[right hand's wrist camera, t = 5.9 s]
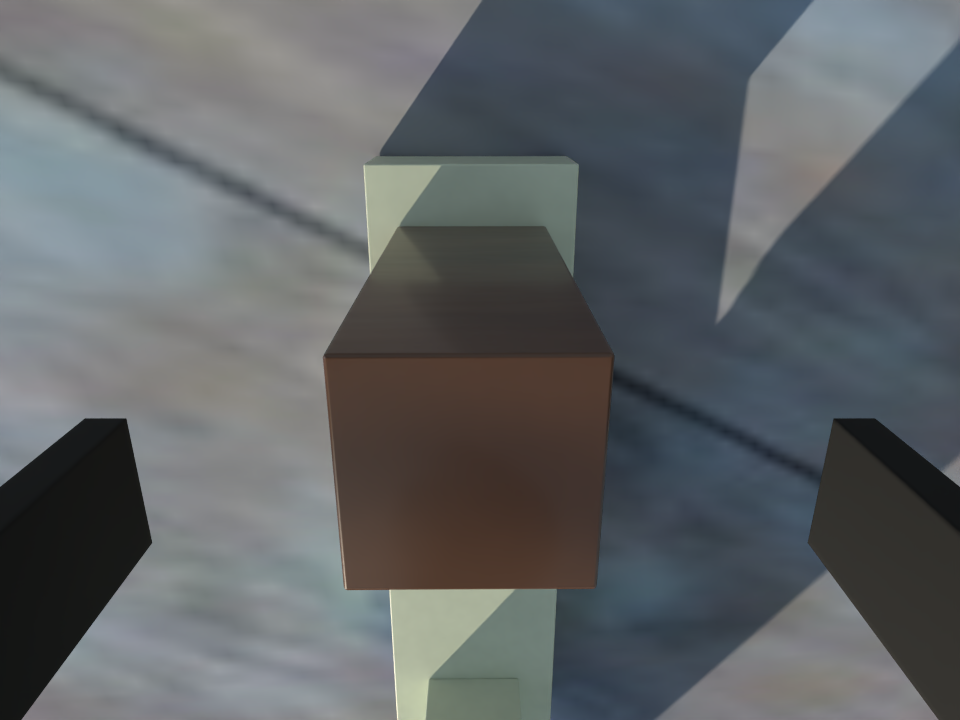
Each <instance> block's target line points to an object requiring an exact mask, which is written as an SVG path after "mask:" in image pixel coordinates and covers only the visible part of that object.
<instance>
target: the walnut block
mask: <svg viewBox="0 0 960 720" xmlns="http://www.w3.org/2000/svg"><path fill="white" fill-rule="evenodd" d="M614 357H615V356H614V354H613V352H612V350H611V348H610V346H609V344H608V342H607V341H606V339H605V337H604V335H603V333H602V331H601V329H600V327H599V326H598V324H597V322H596V320H595V318H594V316H593V314H592V312H591V311H590V309H589V307H588V305H587V303H586V301H585V299H584V298H583V296H582V294H581V292H580V290H579V288H578V286H577V284H576V283H575V281H574V279H573V277H572V275H571V273H570V271H569V269H568V268H567V266H566V264H565V262H564V260H563V258H562V256H561V254H560V253H559V251H558V249H557V247H556V245H555V243H554V241H553V240H552V238H551V236H550V234H549V232H548V230H547V228H546V227H545V226H399V227H397V229H396V230H395V232H394V234H393V236H392V237H391V239H390V241H389V243H388V244H387V246H386V248H385V250H384V251H383V253H382V255H381V256H380V258H379V260H378V262H377V263H376V265H375V267H374V269H373V270H372V272H371V274H370V276H369V277H368V279H367V281H366V282H365V284H364V286H363V288H362V289H361V291H360V293H359V295H358V296H357V298H356V300H355V302H354V303H353V305H352V307H351V308H350V310H349V312H348V314H347V315H346V317H345V319H344V321H343V322H342V324H341V326H340V328H339V329H338V331H337V333H336V334H335V336H334V338H333V340H332V341H331V343H330V345H329V347H328V348H327V350H326V352H325V354H324V356H323V363H324V374H325V385H326V396H327V407H328V418H329V429H330V440H331V451H332V462H333V472H334V483H335V494H336V505H337V516H338V527H339V538H340V549H341V560H342V571H343V582H344V588H345V589H346V590H440V589H594V588H595V587H596V585H597V574H598V562H599V549H600V536H601V523H602V511H603V498H604V485H605V472H606V459H607V447H608V434H609V421H610V408H611V396H612V383H613V370H614Z"/></svg>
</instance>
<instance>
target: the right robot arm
mask: <svg viewBox="0 0 960 720" xmlns="http://www.w3.org/2000/svg"><path fill="white" fill-rule="evenodd" d="M151 544H152V540H151V535H150V530H149V525H148V520H147V516H146V511H145V506H144V501H143V496H142V492H141V487H140V482H139V477H138V472H137V468H136V463H135V458H134V453H133V448H132V444H131V439H130V434H129V429H128V424H127V420H126V419H84V420H83V421H81V422H80V423H79V424H78V425H76V426H75V427H74V428H73V429H71V430H70V431H69V432H68V433H66V434H65V435H64V436H63V437H62V438H60V439H59V440H58V441H57V442H55V443H54V444H53V445H52V446H50V447H49V448H48V449H47V450H45V451H44V452H43V453H42V454H40V455H39V456H38V457H37V458H36V459H34V460H33V461H32V462H31V463H29V464H28V465H27V466H26V467H24V468H23V469H22V470H21V471H19V472H18V473H17V474H16V475H14V476H13V477H12V478H11V479H10V480H8V481H7V482H6V483H5V484H3V485H2V486H1V487H0V720H21V719H22V718H23V717H24V715H25V714H26V713H27V711H28V710H29V709H30V707H31V706H32V705H33V703H34V702H35V701H36V699H37V698H38V696H39V695H40V694H41V692H42V691H43V690H44V688H45V687H46V686H47V684H48V683H49V682H50V680H51V679H52V678H53V676H54V675H55V673H56V672H57V671H58V669H59V668H60V667H61V665H62V664H63V663H64V661H65V660H66V659H67V657H68V656H69V655H70V653H71V652H72V651H73V649H74V648H75V646H76V645H77V644H78V642H79V641H80V640H81V638H82V637H83V636H84V634H85V633H86V632H87V630H88V629H89V628H90V626H91V625H92V623H93V622H94V621H95V619H96V618H97V617H98V615H99V614H100V613H101V611H102V610H103V609H104V607H105V606H106V605H107V603H108V602H109V600H110V599H111V598H112V596H113V595H114V594H115V592H116V591H117V590H118V588H119V587H120V586H121V584H122V583H123V582H124V580H125V579H126V577H127V576H128V575H129V573H130V572H131V571H132V569H133V568H134V567H135V565H136V564H137V563H138V561H139V560H140V559H141V557H142V556H143V554H144V553H145V552H146V550H147V549H148V548H149V546H150V545H151ZM808 544H809V545H810V546H811V548H812V549H813V550H814V552H815V553H816V555H817V556H818V557H819V559H820V560H821V561H822V563H823V564H824V565H825V567H826V568H827V569H828V571H829V572H830V573H831V575H832V576H833V577H834V579H835V580H836V582H837V583H838V584H839V586H840V587H841V588H842V590H843V591H844V592H845V594H846V595H847V596H848V598H849V599H850V600H851V602H852V603H853V605H854V606H855V607H856V609H857V610H858V611H859V613H860V614H861V615H862V617H863V618H864V619H865V621H866V622H867V623H868V625H869V626H870V628H871V629H872V630H873V632H874V633H875V634H876V636H877V637H878V638H879V640H880V641H881V642H882V644H883V645H884V646H885V648H886V649H887V651H888V652H889V653H890V655H891V656H892V657H893V659H894V660H895V661H896V663H897V664H898V665H899V667H900V668H901V669H902V671H903V672H904V674H905V675H906V676H907V678H908V679H909V680H910V682H911V683H912V684H913V686H914V687H915V688H916V690H917V691H918V692H919V694H920V695H921V696H922V698H923V699H924V701H925V702H926V703H927V705H928V706H929V707H930V709H931V710H932V711H933V713H934V714H935V715H936V717H937V718H938V719H939V720H960V487H959V486H958V485H957V484H955V483H954V482H953V481H952V480H950V479H949V478H948V477H947V476H946V475H944V474H943V473H942V472H941V471H939V470H938V469H937V468H936V467H934V466H933V465H932V464H931V463H929V462H928V461H927V460H926V459H924V458H923V457H922V456H921V455H920V454H918V453H917V452H916V451H915V450H913V449H912V448H911V447H910V446H908V445H907V444H906V443H905V442H903V441H902V440H901V439H900V438H898V437H897V436H896V435H895V434H894V433H892V432H891V431H890V430H889V429H887V428H886V427H885V426H884V425H882V424H881V423H880V422H879V421H877V420H876V419H834V420H833V424H832V429H831V434H830V439H829V444H828V448H827V453H826V458H825V463H824V468H823V472H822V477H821V482H820V487H819V492H818V496H817V501H816V506H815V511H814V516H813V520H812V525H811V530H810V535H809V540H808Z"/></svg>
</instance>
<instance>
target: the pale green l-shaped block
mask: <svg viewBox="0 0 960 720" xmlns="http://www.w3.org/2000/svg"><path fill="white" fill-rule="evenodd" d="M578 173H579V164H577V163H576V162H574V161H573V160H572V159H570V158H569V157H567V156H376V157H375V158H373V159H372V160H370V161H369V162H367V163H365V164H364V180H365V196H366V213H367V229H368V245H369V262H370V274H371V272H372V270H373V269H374V267H375V265H376V263H377V262H378V260H379V258H380V256H381V255H382V253H383V251H384V250H385V248H386V246H387V244H388V243H389V241H390V239H391V237H392V236H393V234H394V232H395V230H396V229H397V227H399V226H545V227H546V228H547V230H548V232H549V234H550V236H551V238H552V240H553V241H554V243H555V245H556V247H557V249H558V251H559V253H560V254H561V256H562V258H563V260H564V262H565V264H566V266H567V268H568V269H569V271H570V273H571V275H572V277H573V270H574V250H575V231H576V212H577V192H578ZM389 591H390V607H391V624H392V640H393V656H394V673H395V689H396V706H397V720H550V714H551V695H552V675H553V656H554V637H555V617H556V598H557V589H440V590H389Z"/></svg>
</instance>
